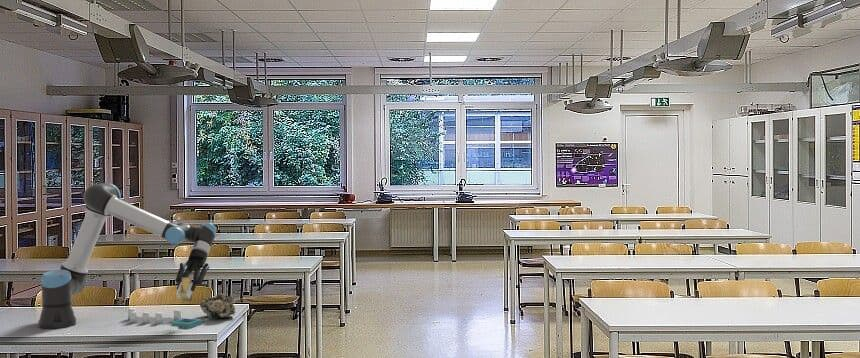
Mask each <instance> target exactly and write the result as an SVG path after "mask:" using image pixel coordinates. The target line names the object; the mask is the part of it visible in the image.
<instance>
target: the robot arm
mask: <svg viewBox="0 0 860 358" xmlns="http://www.w3.org/2000/svg"><path fill="white" fill-rule="evenodd" d="M121 197H122V194H121V191H120V189H119V188H118V187H117V186H116V185H114V184H112V183H109V182H101V183H94V184H91V185H89V186H88V187H87V188H86V189H85V191H84V192H83V202H84V204H85V206H84V209H85V211H86V214H85V215H84V219H83V221H82V223H81V226H80V229H79V230H78V233H77V236H76V238H75V241H74V243H73V245H72V249H71V251H70V252H69V255H68V256H67V260H66V261H64V262H62V263H61V265H60V268H59V269H53V270H49V271H46V272H44V273H43V274H42V276H41V282H40V283H41V301H42V302H41V307H42V308H41V309H42V310H41V313H40V317H39V320H38V321H37V322H38V324H37V325H38V326H39V327H38V326H37V327H38V328H40V327H41V329H61V328H67V327H72V326H74V325H76V324H77V317H76V316H75V312H74V310H73V307H72V306H73V305H72V296H76V295H78V294H79V293H80V292H82V290H83V289H84V288H86V285H87V281H88V280H87V275H88V273H89V270H88V268H87V266H88V264H89V260H90V259H91V256H92V254H93V252H94V249H95V246H96V244H97V241H98V239H99V236H100V234H101V231H102V229H103V226H104V225H105V222H106V220H107V219H108V218H110V217H111V216H113V217H115V218H118V219H119V220H121V221H124V222H126V223H128V224H130V225H132V226H135V227H137V228H139V229H142V230H144V231H146V232H148V233H150V234H153V235H156V236H158V237H159V238H162V239H164V240H166V241H167V243H169V244H171V245H179V244H181V243H183V242H185V241H186V242H189V243H193V245H192V247H191V250H190V253H189V255H188V259H187V261H186V262H185V263H183V262H180V263H179V269H178V271H177V274H176V277H175V283H176V284H177V287H176V290H177V291H176V293H175V295H176V297H177V299H181V297H182V277H190V275H191V274H192V273H193V279H192V281H191V283H190V286H189V288H188V291H187V293H186V296H187V297H188V298H190V297H191V294H192V295H193V292H194V291H195V290H196V287H197V286H198V285H202V284H203V281H204V279H205V276H206V274H207V271H209V270H210V268H211V267H210V265H209V263H207V258H208V256H209V253H210V250H211V249H212V245H213V242H214V240H215V239H216V234H217V230H218V229H217V227H216V226H215V224H213V223H211V222H202V224H201V225H200V226H199V225H198V226H196V225H193V224H188V223H183V222H177V221H174V222H170V221H168V220H166V219H164V218H162V217H160V216H157V215H155V214H152V213H150V212H148V211H146V210H144V209H141V208H140V207H137V206H135V205H134V204H130V203H129V202H126V201H124V200H121V199H122V198H121Z"/></svg>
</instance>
